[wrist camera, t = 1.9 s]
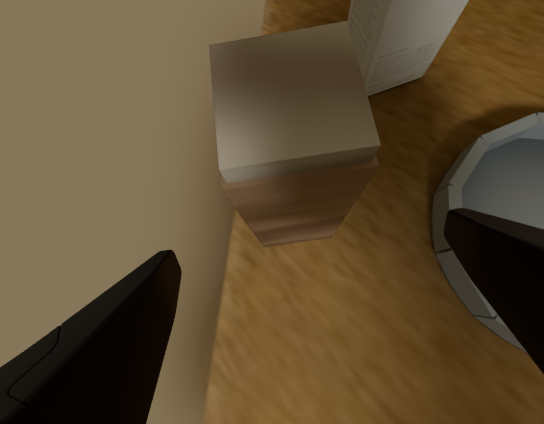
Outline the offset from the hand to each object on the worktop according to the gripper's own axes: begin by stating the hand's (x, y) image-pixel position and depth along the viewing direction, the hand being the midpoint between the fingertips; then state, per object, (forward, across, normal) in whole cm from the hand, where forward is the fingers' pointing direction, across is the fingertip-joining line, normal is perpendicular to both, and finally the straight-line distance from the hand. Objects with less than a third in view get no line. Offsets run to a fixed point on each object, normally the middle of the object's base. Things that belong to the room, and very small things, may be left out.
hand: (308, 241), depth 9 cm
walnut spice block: (+11, 0, +5) cm, 12 cm away
